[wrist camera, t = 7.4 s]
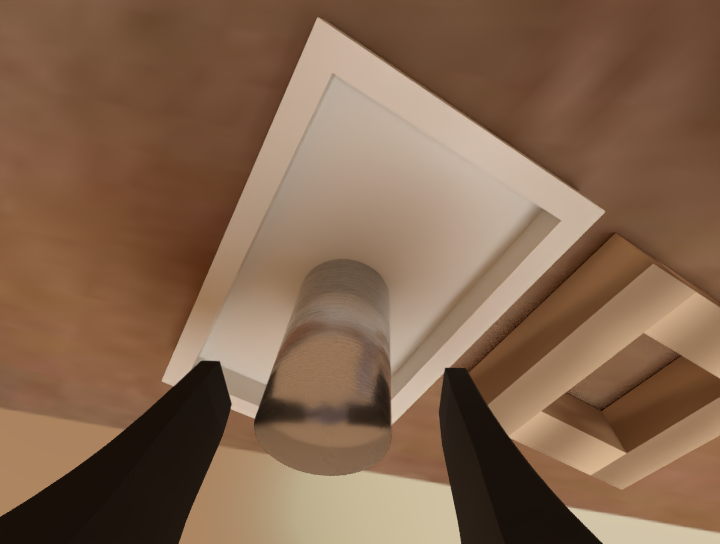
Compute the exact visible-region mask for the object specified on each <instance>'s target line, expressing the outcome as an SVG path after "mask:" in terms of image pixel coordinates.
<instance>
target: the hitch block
mask: <svg viewBox="0 0 720 544" xmlns="http://www.w3.org/2000/svg"><path fill="white" fill-rule="evenodd" d="M643 333H645V334H646V335H648V336H650V337H651V338H653V339H655V340H656V341H658V342H660V343H661V344H663V345H665V346H667V347H668V348H670V349H672V350H673V351H675V352H677V353H678V354H680V355H682V356H680V357H679V358H677V359H676V360H675V361H673V362H672V363H670V364H669V365H667V366H666V367H664V368H663V369H662V370H660V371H659V372H657V373H656V374H654V375H653V376H651V377H650V378H649V379H647V380H646V381H644V382H643V383H641V384H640V385H639V386H637V387H636V388H634V389H633V390H631V391H630V392H628V393H627V394H626V395H624V396H623V397H621V398H620V399H618V400H617V401H615V402H614V403H613V404H611V405H610V406H608V407H607V408H605V409H604V410H603V411H601V410H599V409H597V408H595V407H593V406H591V405H589V404H587V403H585V402H583V401H581V400H579V399H577V398H575V397H573V396H572V395H570V394H568V393H566V392H567V391H568V390H570V389H571V388H572V387H573V386H575V385H576V384H577V383H579V382H580V381H581V380H583V379H584V378H585V377H587V376H588V375H589V374H590V373H592V372H593V371H594V370H596V369H597V368H598V367H600V366H601V365H602V364H603V363H605V362H606V361H607V360H609V359H610V358H611V357H613V356H614V355H615V354H617V353H618V352H619V351H620V350H622V349H623V348H624V347H626V346H627V345H628V344H630V343H631V342H632V341H634V340H635V339H636V338H637V337H639V336H640V335H641V334H643ZM469 374H470V376H471V378H472V380H473V382H474V383H475V385H476V387H477V389H478V390H479V392H480V394H481V395H482V397H483V399H484V400H485V402H486V403H487V405H488V407H489V408H490V410H491V411H492V413H493V414H494V416H495V417H496V419H497V420H498V422H499V423H500V425H501V426H502V428H503V429H504V430H505V432H506V433H507V435H508V436H509V438H511V439H513V440H515V441H517V442H520V443H522V444H524V445H526V446H528V447H530V448H532V449H535V450H537V451H539V452H541V453H543V454H545V455H548V456H550V457H552V458H554V459H556V460H558V461H561V462H563V463H565V464H567V465H569V466H571V467H574V468H576V469H578V470H580V471H582V472H584V473H587V474H589V475H591V476H593V477H595V478H597V479H600V480H602V481H604V482H606V483H608V484H610V485H613V486H615V487H617V488H619V489H621V490H622V489H624V488H626V487H628V486H629V485H631V484H633V483H635V482H637V481H638V480H640V479H642V478H644V477H646V476H647V475H649V474H651V473H653V472H655V471H656V470H658V469H660V468H662V467H664V466H665V465H667V464H669V463H671V462H673V461H674V460H676V459H678V458H680V457H682V456H683V455H685V454H687V453H689V452H691V451H692V450H694V449H696V448H698V447H700V446H701V445H703V444H705V443H707V442H709V441H710V440H712V439H714V438H716V437H718V436H719V435H720V302H719V301H717V300H716V299H714V298H713V297H711V296H710V295H708V294H707V293H705V292H704V291H702V290H701V289H699V288H698V287H696V286H695V285H693V284H692V283H690V282H689V281H687V280H686V279H684V278H683V277H681V276H680V275H678V274H677V273H675V272H674V271H672V270H671V269H669V268H668V267H666V266H665V265H663V264H662V263H660V262H659V261H657V260H656V259H654V258H653V257H651V256H650V255H648V254H647V253H645V252H644V251H642V250H641V249H639V248H638V247H636V246H635V245H633V244H631V243H630V242H628V241H627V240H625V239H624V238H622V237H621V236H619V235H618V234H616V233H615V234H614V235H613V236H612V237H611V238H610V239H609V240H608V241H607V242H606V243H605V244H604V245H603V246H602V247H600V248H599V249H598V250H597V251H596V252H595V253H594V254H593V255H592V256H591V257H590V258H589V259H588V260H587V261H586V262H585V263H584V264H583V265H582V266H580V267H579V268H578V269H577V270H576V271H575V272H574V273H573V274H572V275H571V276H570V277H569V278H568V279H567V280H566V281H565V282H564V283H563V284H562V285H560V286H559V287H558V288H557V289H556V290H555V291H554V292H553V293H552V294H551V295H550V296H549V297H548V298H547V299H546V300H545V301H544V302H543V303H542V304H540V305H539V306H538V307H537V308H536V309H535V310H534V311H533V312H532V313H531V314H530V315H529V316H528V317H527V318H526V319H525V320H524V321H523V322H522V323H520V324H519V325H518V326H517V327H516V328H515V329H514V330H513V331H512V332H511V333H510V334H509V335H508V336H507V337H506V338H505V339H504V340H503V341H502V342H500V343H499V344H498V345H497V346H496V347H495V348H494V349H493V350H492V351H491V352H490V353H489V354H488V355H487V356H486V357H485V358H484V359H483V360H482V361H480V362H479V363H478V364H477V365H476V366H475V367H474V368H473V369H472V370H471V371H470V372H469Z"/></svg>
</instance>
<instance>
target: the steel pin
mask: <svg viewBox="0 0 720 544" xmlns="http://www.w3.org/2000/svg"><path fill="white" fill-rule="evenodd" d="M254 430H255V435H256V437H257V439H258V441H259V443H260V444H261V446H262V447H263V448H264V450H265V451H266V452H267V453H268V454H270V455H271V456H272V457H273V458H275V459H276V460H277V461H279V462H281V463H283V464H284V465H286V466H288V467H291V468H294V469H296V470H299V471H302V472H306V473H311V474H316V475H326V476H338V475H347V474H352V473H356V472H360V471H363V470H365V469H368V468H369V467H371V466H373V465H375V464H376V463H378V462H379V461H380V460H381V459H382V458H383V457H384V456H385V455H386V453H387V452H388V450H389V448H390V445H391V440H392V417H391V358H390V298H389V291H388V287H387V285H386V283H385V281H384V279H383V278H382V277H381V275H380V274H379V273H378V272H377V271H375V270H374V269H373V268H371V267H370V266H368V265H366V264H364V263H362V262H359V261H355V260H350V259H335V260H330V261H326V262H324V263H321V264H319V265H318V266H316V267H315V268H313V269H312V270H311V271H310V272H309V273H308V274H307V275H306V277H305V279H304V281H303V283H302V286H301V289H300V291H299V294H298V297H297V300H296V303H295V306H294V308H293V311H292V314H291V317H290V320H289V323H288V325H287V328H286V331H285V334H284V337H283V340H282V343H281V345H280V348H279V351H278V354H277V357H276V360H275V362H274V365H273V368H272V371H271V374H270V377H269V380H268V382H267V385H266V388H265V391H264V394H263V397H262V399H261V402H260V405H259V408H258V411H257V414H256V416H255V421H254Z"/></svg>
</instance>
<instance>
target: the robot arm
mask: <svg viewBox="0 0 720 544" xmlns="http://www.w3.org/2000/svg"><path fill="white" fill-rule="evenodd" d="M231 406H232V403H231V399H230V396H229V392H228V389H227V385H226V381H225V378H224V374H223V371H222V367H221V364H220V361H200V362H199V363H198V364H197V365H196V366H195V367H194V368H193V369H192V370H191V371H190V372H188V373H187V374H186V375H185V376H184V377H183V378H182V379H181V380H180V381H179V382H178V383H177V384H176V385H175V386H173V387H172V388H171V389H170V390H169V391H168V392H167V393H166V394H165V395H164V396H163V397H162V398H161V399H159V400H158V401H157V402H156V403H155V404H154V405H153V406H152V407H151V408H150V409H148V410H147V411H146V412H145V413H144V414H143V415H142V416H140V417H139V418H138V419H137V420H136V421H135V422H133V423H132V424H131V425H130V426H129V427H127V428H126V429H125V430H124V431H123V432H122V433H120V434H119V435H118V436H117V437H116V438H114V439H113V440H112V441H111V442H109V443H108V444H107V445H106V446H104V447H103V448H102V449H100V450H99V451H98V452H97V453H95V454H94V455H93V456H91V457H90V458H89V459H87V460H86V461H84V462H83V463H82V464H80V465H79V466H78V467H76V468H75V469H73V470H72V471H71V472H69V473H68V474H66V475H65V476H63V477H62V478H60V479H59V480H57V481H56V482H54V483H53V484H51V485H50V486H48V487H47V488H45V489H44V490H42V491H41V492H39V493H38V494H36V495H35V496H33V497H32V498H30V499H28V500H27V501H25V502H24V503H22V504H20V505H19V506H17V507H16V508H14V509H12V510H11V511H9V512H7V513H6V514H4V515H2V516H1V517H0V544H179V541H180V538H181V535H182V532H183V529H184V526H185V523H186V520H187V518H188V515H189V513H190V510H191V508H192V505H193V503H194V501H195V498H196V496H197V494H198V491H199V489H200V487H201V484H202V482H203V480H204V477H205V475H206V473H207V471H208V468H209V466H210V464H211V462H212V459H213V457H214V454H215V452H216V450H217V448H218V445H219V443H220V441H221V438H222V436H223V433H224V429H225V426H226V423H227V420H228V416H229V413H230V409H231ZM439 418H440V429H441V438H442V446H443V451H444V456H445V461H446V466H447V471H448V476H449V481H450V486H451V491H452V495H453V500H454V505H455V510H456V515H457V520H458V526H459V532H460V538H461V544H603V543H602V542H600V541H599V540H598V538H596V536H595V535H594V534H593V533H591V531H590V530H589V529H587V527H585V525H584V524H583V523H582V522H581V521H580V520H579V519H578V518H577V517H576V516H575V515H574V514H573V513H572V512H571V511H570V510H569V509H568V508H567V507H566V506H565V505H564V503H563V502H562V501H561V500H560V499H559V498H558V497H557V496H556V495H555V494H554V492H553V491H552V490H551V489H550V488H549V487H548V486H547V484H546V483H545V482H544V481H543V480H542V479H541V477H540V476H539V475H538V474H537V473H536V471H535V470H534V469H533V468H532V466H531V465H530V464H529V463H528V461H527V460H526V459H525V458H524V456H523V455H522V454H521V452H520V451H519V450H518V448H517V447H516V446H515V444H514V443H513V442H512V440H511V439H510V438H509V436H508V435H507V433H506V432H505V430H504V429H503V428H502V426H501V425H500V423H499V422H498V420H497V419H496V417H495V416H494V414H493V413H492V411H491V410H490V408H489V407H488V405H487V403H486V402H485V400H484V399H483V397H482V395H481V394H480V392H479V390H478V389H477V387H476V385H475V383H474V382H473V380H472V378H471V376H470V374H469V372H468V371H467V370H466V369H465V368H445V371H444V378H443V386H442V393H441V400H440V408H439Z"/></svg>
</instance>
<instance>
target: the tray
mask: <svg viewBox="0 0 720 544" xmlns="http://www.w3.org/2000/svg"><path fill="white" fill-rule="evenodd" d="M605 212H606V211H604V210H603V209H602V208H600V207H599V206H598V205H596V204H595V203H594V202H592V201H591V200H590V199H588V198H587V197H586V196H584V195H583V194H582V193H580V192H579V191H577V190H576V189H575V188H573V187H572V186H570V185H569V184H567V183H566V182H564V181H563V180H561V179H560V178H558V177H557V176H555V175H554V174H552V173H551V172H549V171H548V170H546V169H545V168H544V167H542V166H541V165H539V164H538V163H536V162H535V161H533V160H532V159H530V158H529V157H527V156H526V155H524V154H523V153H521V152H520V151H518V150H517V149H515V148H514V147H512V146H511V145H510V144H508V143H507V142H505V141H504V140H502V139H501V138H499V137H498V136H496V135H495V134H493V133H492V132H490V131H489V130H487V129H486V128H484V127H483V126H481V125H480V124H478V123H477V122H476V121H474V120H473V119H471V118H470V117H468V116H467V115H465V114H464V113H462V112H461V111H459V110H458V109H456V108H455V107H453V106H452V105H450V104H449V103H447V102H446V101H444V100H443V99H442V98H440V97H439V96H437V95H436V94H434V93H433V92H431V91H430V90H428V89H427V88H425V87H424V86H422V85H421V84H419V83H418V82H416V81H415V80H413V79H412V78H411V77H409V76H408V75H406V74H405V73H403V72H402V71H400V70H399V69H397V68H396V67H394V66H393V65H391V64H390V63H388V62H387V61H385V60H384V59H382V58H381V57H379V56H378V55H377V54H375V53H374V52H372V51H371V50H369V49H368V48H366V47H365V46H363V45H362V44H360V43H359V42H357V41H356V40H354V39H353V38H351V37H350V36H348V35H347V34H345V33H344V32H343V31H341V30H340V29H338V28H337V27H335V26H334V25H332V24H331V23H329V22H328V21H326V20H323V19H321V18H319V17H317V20H316V22H315V24H314V27H313V29H312V31H311V34H310V36H309V38H308V41H307V43H306V45H305V48H304V50H303V52H302V55H301V57H300V59H299V62H298V64H297V66H296V69H295V71H294V73H293V76H292V78H291V80H290V83H289V85H288V87H287V90H286V92H285V94H284V97H283V99H282V101H281V104H280V106H279V108H278V111H277V113H276V115H275V118H274V120H273V122H272V125H271V127H270V129H269V132H268V134H267V136H266V139H265V141H264V143H263V146H262V148H261V150H260V153H259V155H258V157H257V160H256V162H255V164H254V167H253V169H252V171H251V174H250V176H249V178H248V181H247V183H246V185H245V188H244V190H243V192H242V195H241V197H240V199H239V202H238V204H237V206H236V209H235V211H234V213H233V216H232V218H231V220H230V223H229V225H228V227H227V230H226V232H225V234H224V237H223V239H222V241H221V244H220V246H219V248H218V251H217V253H216V255H215V258H214V260H213V262H212V265H211V267H210V269H209V272H208V274H207V276H206V279H205V281H204V283H203V286H202V288H201V290H200V293H199V295H198V297H197V300H196V302H195V304H194V307H193V309H192V311H191V314H190V316H189V318H188V321H187V323H186V325H185V328H184V330H183V332H182V335H181V337H180V339H179V342H178V344H177V346H176V349H175V351H174V353H173V356H172V358H171V360H170V363H169V365H168V367H167V370H166V372H165V374H164V377H163V379H162V382H165V383H167V384H170V385H172V386H175V385H176V384H177V383H178V382H179V381H180V380H181V379H182V378H183V377H184V376H185V375H186V374H187V373H188V372H190V371H191V370H192V369H193V368H194V367H195V366H196V365H197V364H198V363H199V362H200V361H220V364H221V367H222V371H223V374H224V378H225V381H226V385H227V389H228V392H229V396H230V399H231V403H232V406H231V409H232V410H234V411H237V412H239V413H242V414H244V415H247V416H249V417H252V418H254V419H255V416H256V414H257V411H258V408H259V405H260V402H261V399H262V397H263V394H264V391H265V388H266V385H267V382H268V380H269V377H270V374H271V371H272V368H273V365H274V362H275V360H276V357H277V354H278V351H279V348H280V345H281V343H282V340H283V337H284V334H285V331H286V328H287V325H288V323H289V320H290V317H291V314H292V311H293V308H294V306H295V303H296V300H297V297H298V294H299V291H300V289H301V286H302V283H303V281H304V279H305V277H306V275H307V274H308V273H309V272H310V271H311V270H312V269H313V268H315V267H316V266H318V265H319V264H321V263H324V262H326V261H330V260H335V259H350V260H355V261H359V262H362V263H364V264H366V265H368V266H370V267H371V268H373V269H374V270H375V271H377V272H378V273H379V274H380V275H381V277H382V278H383V279H384V281H385V283H386V285H387V287H388V291H389V298H390V358H391V417H392V424H393V423H394V422H395V421H396V420H397V419H398V418H399V417H400V416H401V415H402V414H403V413H404V412H405V411H406V410H407V409H408V408H409V407H410V406H411V405H412V404H413V403H414V402H415V401H416V400H417V399H418V398H419V397H420V396H421V395H422V394H423V393H424V392H425V391H426V390H427V389H428V388H429V387H430V386H431V385H432V384H433V383H434V382H435V381H436V380H437V379H438V378H439V377H440V376H441V375H442V374H443V373H444V371H445V368H449V367H450V366H451V365H452V364H453V363H454V362H455V361H456V360H457V359H458V358H459V357H460V356H461V355H462V354H463V353H464V352H465V351H466V350H467V349H468V348H469V347H470V346H471V345H472V344H473V343H474V342H475V341H476V340H477V339H478V338H479V337H480V336H481V335H482V334H483V333H484V332H485V331H486V330H487V329H488V328H489V327H490V326H491V325H492V324H493V323H494V322H495V321H496V320H497V319H498V318H499V317H500V316H501V315H502V314H503V313H504V312H505V311H506V310H507V309H508V308H509V307H510V306H511V305H512V304H513V303H514V302H515V301H516V300H517V299H518V298H520V297H521V296H522V295H523V294H524V293H525V292H526V291H527V290H528V289H529V288H530V287H531V286H532V285H533V284H534V283H535V282H536V281H537V280H538V279H539V278H540V277H541V276H542V275H543V274H544V273H545V272H546V271H547V270H548V269H549V268H550V267H551V266H552V265H553V264H554V263H555V262H556V261H557V260H558V259H559V258H560V257H561V256H562V255H563V254H564V253H565V252H566V251H567V250H568V249H569V248H570V247H571V246H572V245H573V244H574V243H575V242H576V241H577V240H578V239H579V238H580V237H581V236H582V235H583V234H584V233H585V232H586V231H587V230H588V229H589V228H590V227H591V226H592V225H593V224H594V223H595V222H596V221H597V220H598V219H599V218H600V217H601V216H602V215H603V214H604V213H605Z"/></svg>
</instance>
